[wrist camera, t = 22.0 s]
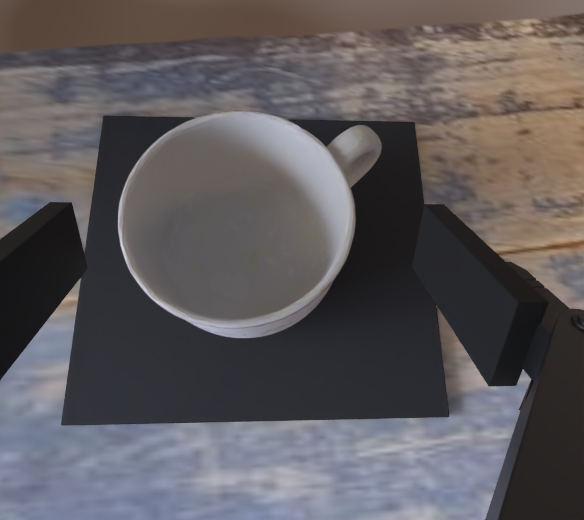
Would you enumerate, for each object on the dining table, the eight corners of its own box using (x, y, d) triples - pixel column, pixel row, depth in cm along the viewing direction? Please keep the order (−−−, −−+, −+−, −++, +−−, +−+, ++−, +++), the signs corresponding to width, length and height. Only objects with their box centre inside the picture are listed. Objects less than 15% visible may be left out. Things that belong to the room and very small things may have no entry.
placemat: (65, 424, 23) (60, 425, 22) (106, 120, 29) (103, 115, 28) (445, 416, 24) (450, 417, 24) (411, 126, 30) (414, 121, 29)
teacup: (196, 375, 23) (161, 372, 16) (136, 216, 26) (81, 147, 18) (403, 281, 26) (461, 239, 18) (329, 143, 28) (352, 55, 21)
